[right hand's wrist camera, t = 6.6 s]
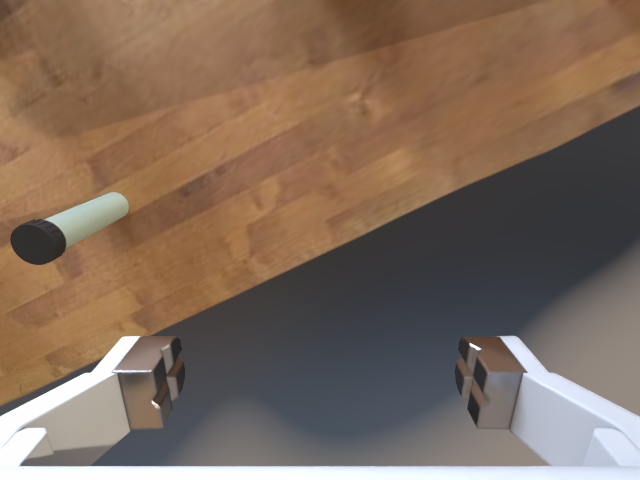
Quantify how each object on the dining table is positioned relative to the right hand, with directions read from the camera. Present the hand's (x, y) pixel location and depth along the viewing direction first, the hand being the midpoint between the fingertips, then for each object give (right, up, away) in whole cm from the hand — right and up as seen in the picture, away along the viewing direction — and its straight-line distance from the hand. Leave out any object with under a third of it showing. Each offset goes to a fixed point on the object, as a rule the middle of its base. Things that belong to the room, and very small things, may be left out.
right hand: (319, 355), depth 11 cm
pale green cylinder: (-33, +9, +48) cm, 59 cm away
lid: (-33, +3, +31) cm, 45 cm away
